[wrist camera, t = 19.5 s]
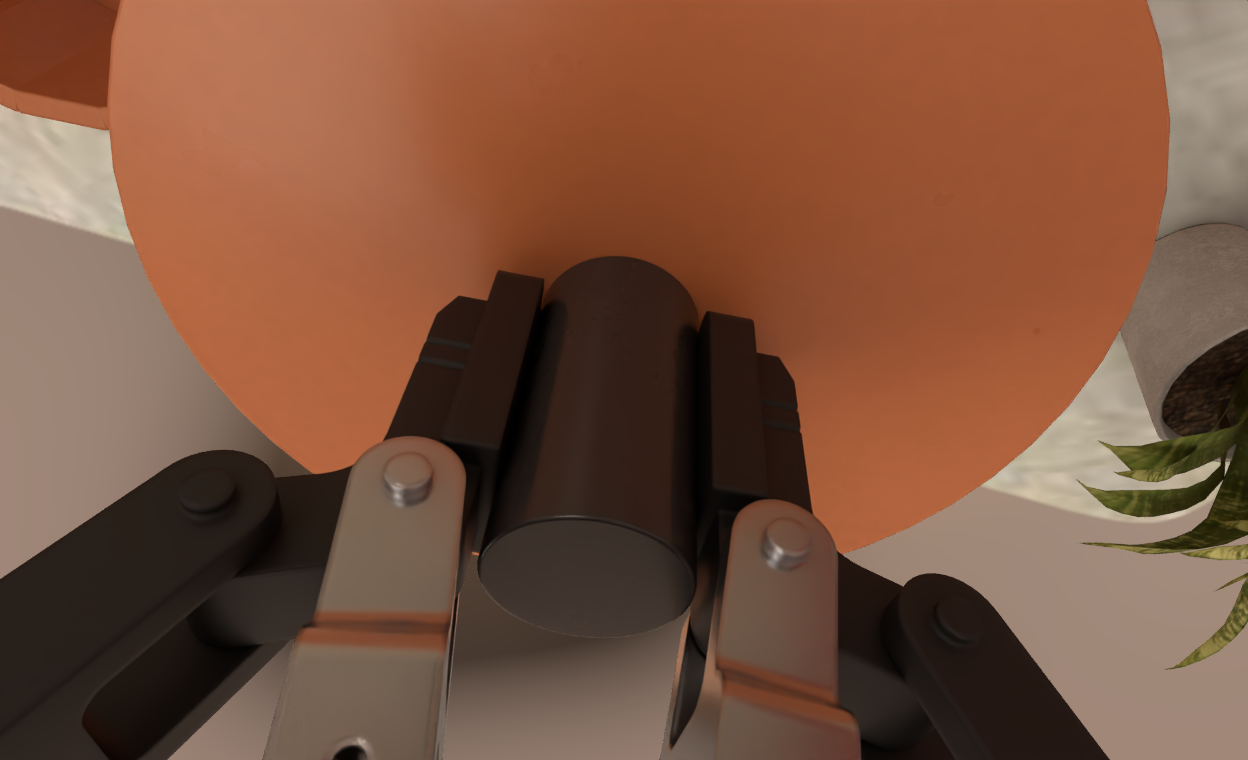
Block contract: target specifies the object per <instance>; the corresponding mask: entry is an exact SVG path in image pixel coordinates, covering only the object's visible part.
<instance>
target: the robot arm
mask: <svg viewBox="0 0 1248 760" xmlns="http://www.w3.org/2000/svg"><path fill="white" fill-rule="evenodd" d="M543 290H544V279H543V278H538V277H533V276H528V275H523V274H517V273H512V272H507V271H502V270H498V272H497V274H496V276H495V279H494V282H493V285H492V288H491V291H490V294H489V297H488V300H487V301H486V300H480V299H475V298H470V297H465V296H457V297H456V298H455V299H454V300H453V301H451V302H450V303H449V304H448V305H447V306H445V307H444V308H443V309H442V310H441V311H439V312H438V313H437V314H436V316H435V319H434V321H433V324H432V326H431V328H430V331H429V333H428V336H427V340H426V342H425V343H424V345H423V348H422V350H421V353H420V355H419V359H418V362H416V365H415V367H414V369H413V372H412V374H411V377H410V379H409V381H408V384H407V386H406V389H405V391H404V393H403V396H402V398H401V401H400V403H399V405H398V408H397V410H396V413H395V415H394V418H393V420H392V422H391V425H390V427H389V430H388V432H387V434H386V436H385V438H384V440H383V441H382V442H380V443H378V444H376V445H374V446H372V447H371V448H369V449H368V450H367V451H365V452H364V453H363V454H362V455H361V456H360V457H359V458H358V459H357V460H356V462H355V464H354V465H351V466H349V467H346V468H344V469H340V470H337V471H333V472H327V473H321V474H312V475H300V476H290V477H279V478H275V477H274V475H273V473H272V471H271V470H270V468H269V467H268V466H267V465H266V464H265V463H264V462H263V461H261V460H260V459H258V458H256V457H254V456H253V455H250V454H247V453H244V452H239V451H234V450H213V451H206V452H201V453H198V454H194V455H191V456H188V457H185V458H183V459H181V460H179V461H177V462H175V463H173V464H171V465H170V466H168V467H166V468H165V469H163V470H162V471H160V472H159V473H157V474H156V475H155V476H153V477H152V478H150V479H149V480H147V481H146V482H144V483H143V484H141V485H140V486H138V487H137V488H135V489H134V490H132V491H131V492H129V493H128V494H126V495H125V496H123V497H122V498H121V499H119V500H117V501H116V502H114V503H113V504H111V505H110V506H108V507H107V508H105V509H104V510H102V511H101V512H100V513H98V514H96V515H95V516H94V517H92V518H91V519H89V520H88V521H86V522H85V523H83V524H82V525H80V526H79V527H77V528H76V529H74V530H73V531H71V532H70V533H68V534H67V535H65V536H64V537H62V538H61V539H59V540H58V541H56V542H55V543H53V544H52V545H50V546H49V547H47V548H46V549H45V550H43V551H41V552H40V553H38V554H37V555H36V556H34V557H32V558H31V559H30V560H28V561H27V562H25V563H24V564H22V565H21V566H19V567H18V568H16V569H15V570H13V571H12V572H10V573H9V574H7V575H6V576H4V577H3V578H1V579H0V760H167V759H168V758H169V757H170V756H171V755H172V754H174V752H176V751H177V750H178V749H179V748H180V747H181V746H182V745H183V744H184V743H185V742H186V741H187V740H188V739H189V738H190V737H191V736H192V735H193V734H194V733H195V732H196V731H197V730H198V729H199V728H200V727H201V726H202V725H203V724H204V723H206V722H207V720H209V719H210V718H211V717H212V716H213V715H214V714H215V713H216V712H217V711H218V710H219V709H220V708H221V707H222V706H223V705H224V704H225V703H226V702H227V701H228V700H229V699H230V698H231V697H232V696H233V695H234V694H235V693H237V692H238V691H239V690H240V689H241V688H242V687H243V686H244V685H245V684H246V683H247V682H248V681H249V680H250V679H251V678H252V677H253V676H254V675H255V674H256V673H257V672H258V671H259V670H260V669H261V668H262V667H263V666H264V665H266V664H267V662H269V661H270V660H271V659H272V658H273V657H274V656H275V655H276V654H277V653H278V652H279V651H280V650H281V649H282V648H283V647H284V646H285V645H286V644H287V643H288V642H289V641H290V640H291V639H295V641H294V644H293V648H292V650H291V654H290V657H289V661H288V664H287V668H286V672H285V676H284V680H283V683H282V687H281V691H280V695H279V699H278V702H277V706H276V710H275V714H274V717H273V722H272V725H271V729H270V733H269V736H268V740H267V744H266V748H265V751H264V755H263V759H262V760H443V754H444V742H445V729H446V719H447V710H448V700H449V690H450V680H451V670H452V660H453V651H454V640H455V631H456V622H457V612H458V602H459V593H460V591H461V589H462V586H463V584H464V581H465V577H466V573H467V569H468V565H469V562H470V558H471V554H472V552H476V553H479V552H480V548H481V544H482V540H483V536H484V532H485V528H486V524H487V520H488V516H489V513H490V509H491V505H492V501H493V498H494V495H495V491H496V487H497V483H498V479H499V475H500V471H501V467H502V463H503V459H504V455H505V451H506V447H507V443H508V440H509V436H510V432H511V428H512V424H513V420H514V416H515V412H516V408H517V404H518V400H519V396H520V392H521V388H522V384H523V380H524V376H525V372H526V368H527V364H528V360H529V356H530V352H531V348H532V344H533V340H534V336H535V332H536V328H537V324H538V320H539V316H540V312H541V305H542V298H543ZM797 408H798V403H797V396H796V388H795V381H794V380H793V378H792V377H791V375H790V374H789V372H788V370H787V369H786V367H785V366H784V364H783V363H782V361H781V359H780V358H779V357H778V356H773V355H767V354H762V353H757V350H756V338H755V326H754V321H753V320H752V319H748V318H743V317H738V316H733V315H727V314H722V313H717V312H712V311H707V312H706V313H705V315H704V317H703V320H702V323H701V326H700V329H699V332H698V360H697V589H696V593H695V596H694V599H693V601H692V602H691V604H690V607H691V608H690V614H689V616H688V618H687V620H686V622H685V624H684V626H683V630H682V634H681V640H680V646H679V651H678V657H677V663H676V669H675V675H674V681H673V687H672V692H671V698H670V705H669V710H668V716H667V722H666V728H665V733H664V739H663V745H662V750H661V755H660V760H1110V759H1109V758H1108V757H1107V756H1106V754H1105V753H1104V752H1103V750H1102V749H1101V748H1100V746H1099V745H1098V744H1097V742H1096V741H1095V740H1094V738H1093V737H1092V736H1091V735H1090V733H1089V732H1088V731H1087V729H1086V728H1085V727H1084V725H1083V724H1082V723H1081V721H1080V720H1079V719H1078V717H1077V716H1076V715H1075V713H1074V712H1073V711H1072V710H1071V709H1070V707H1069V706H1068V704H1067V703H1066V702H1065V700H1064V699H1063V698H1062V696H1061V695H1060V694H1059V692H1058V691H1057V690H1056V688H1055V687H1054V686H1053V685H1052V683H1051V682H1050V681H1049V680H1048V678H1047V677H1046V675H1045V674H1044V673H1043V672H1042V670H1041V669H1040V668H1039V666H1038V665H1037V663H1036V662H1035V661H1034V660H1033V658H1032V657H1031V656H1030V654H1029V653H1028V652H1027V650H1026V649H1025V648H1024V646H1023V645H1022V644H1021V643H1020V641H1019V640H1018V638H1017V637H1016V636H1015V635H1014V633H1013V632H1012V631H1011V629H1010V628H1009V627H1008V625H1007V624H1006V623H1005V621H1004V620H1003V619H1002V617H1001V616H1000V615H999V613H998V612H997V611H996V610H995V608H994V607H993V606H992V605H991V604H990V603H989V601H987V600H986V599H985V598H984V597H983V596H982V595H981V594H980V593H979V592H977V591H976V590H975V589H973V588H972V587H970V586H969V585H967V584H965V583H964V582H962V581H960V580H957V579H955V578H953V577H949V576H946V575H941V574H936V573H934V574H933V573H931V574H922V575H918V576H916V577H914V578H912V579H911V580H909V581H908V582H907V583H906V584H905V585H904V587H903V586H901V585H899V584H897V583H895V582H893V581H890V580H888V579H886V578H884V577H882V576H880V575H878V574H876V573H873V572H871V571H869V570H867V569H865V568H863V567H861V566H859V565H857V564H855V563H853V562H852V561H850V560H849V559H847V558H846V557H844V556H843V555H842V554H841V553H839V552H838V551H837V548H836V545H835V542H834V540H833V538H832V536H831V534H830V533H829V531H828V530H827V528H826V527H825V526H824V525H823V524H822V522H821V521H820V520H819V519H817V518H816V517H815V516H814V515H813V511H812V505H811V498H810V491H809V484H808V476H807V469H806V462H805V454H804V447H803V440H802V433H800V429H801V425H800V418H799V412H797Z"/></svg>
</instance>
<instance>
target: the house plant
mask: <svg viewBox="0 0 1248 760" xmlns="http://www.w3.org/2000/svg"><path fill="white" fill-rule="evenodd" d="M1120 331H1121V334H1122V337H1123V340H1124V343H1125V346H1126V348H1127V351H1128V354H1129V357H1130V360H1131V363H1132V365H1133V368H1134V371H1135V374H1136V377H1137V380H1138V382H1139V385H1140V388H1141V391H1142V394H1143V397H1144V399H1145V402H1146V405H1147V408H1148V411H1149V414H1150V416H1151V419H1152V422H1153V424H1154V427H1155V429H1156V432H1157V434H1158V436H1159V438H1160V439H1161V440H1163V441H1160V442H1156V443H1151V444H1147V445H1143V446H1112V445H1109V444H1107V443H1104V442H1101V441H1099V442H1100V443H1102V444H1103V445H1104V446H1106V447H1107V448H1109V449H1110V450H1111V451H1112V452H1113V453H1114V454H1115V455H1116V456H1117V457H1118V458H1119V459H1120V460H1121V461H1122V462H1123V463H1124V464H1125V465H1126V466H1127V467H1128V468H1129V469H1130V470H1131V471H1125V472H1119V473H1117V472H1115V473H1117V474H1119V475H1121V476H1125V477H1129V478H1133V479H1136V480H1139V481H1146V482H1160V481H1164V480H1167V479H1169V478H1171V477H1172V476H1174V475H1176V474H1181V473H1185V472H1187V471H1190V470H1193V469H1195V468H1198V467H1200V466H1202V465H1205V464H1207V463H1209V462H1211V461H1216V462H1221V465H1220V466H1219V467H1218V468H1217V469H1216V470H1215V471H1214V472H1213V473H1212V474H1211V475H1210V476H1209V477H1208V478H1207V479H1206V480H1204V481H1202V482H1200V483H1197V484H1195V485H1193V486H1190V487H1188V488H1180V489H1170V490H1118V491H1104V490H1099V489H1095V488H1091V487H1087V486H1085V485H1084V484H1082V483H1081V482H1079V481H1078V480H1077V479H1076V480H1077V481H1078V482H1079V483H1080V484H1081V485H1082V486H1083V487H1084V488H1086V489H1087V490H1088V491H1089V492H1090V493H1091V494H1092V495H1093V496H1094V497H1095V498H1097V499H1098V500H1099V501H1100V502H1101V503H1102V504H1103V505H1104V506H1105V507H1107V508H1109V509H1112V510H1114V511H1117V512H1119V513H1122V514H1126V515H1131V516H1136V517H1154V516H1160V515H1165V514H1170V513H1174V512H1177V511H1181V510H1185V509H1188V508H1190V507H1192V506H1194V505H1195V504H1197V503H1199V502H1201V501H1203V500H1205V499H1206V498H1207V497H1208V496H1209V494H1210V493H1211V492H1212V491H1213V490H1214V489H1215V488H1216V487H1217V486H1218V485H1219V483H1220V482H1221V481H1222V480H1223V482H1222V484H1221V486H1220V489H1219V491H1218V493H1217V496H1216V498H1215V500H1214V503H1213V505H1212V507H1211V510H1210V512H1209V514H1208V517H1207V518H1206V519H1205V520H1204V521H1203V522H1202V523H1200V524H1199V525H1198V526H1197V527H1195V528H1194V529H1193V530H1192V531H1190V532H1188V533H1185V534H1183V535H1180V536H1178V537H1175V538H1172V539H1167V540H1164V541H1160V542H1155V543H1147V544H1140V545H1125V544H1110V543H1083V544H1088V545H1097V546H1105V547H1111V548H1118V549H1125V550H1129V551H1134V552H1137V553H1142V554H1163V553H1174V552H1181V554H1183V555H1187V556H1192V557H1200V558H1208V559H1217V560H1241V559H1248V544H1247V545H1246V544H1245V545H1236V546H1222V547H1215V548H1210V549H1204V550H1199V551H1194V552H1188V553H1182V551H1189V550H1196V549H1202V548H1208V547H1213V546H1219V545H1224V544H1227V543H1229V542H1232V541H1234V540H1236V539H1239V538H1241V537H1244V536H1246V535H1248V231H1247V230H1245V229H1243V228H1241V227H1239V226H1234V225H1228V224H1222V223H1221V224H1206V225H1198V226H1195V227H1191V228H1187V229H1183V230H1179V231H1177V232H1175V233H1173V234H1170V235H1168V236H1166V237H1164V238H1161V239H1159V240H1158V241H1156V242H1155V245H1154V250H1153V254H1152V257H1151V260H1150V262H1149V265H1148V267H1147V270H1146V272H1145V275H1144V278H1143V280H1142V283H1141V285H1140V288H1139V290H1138V293H1137V296H1136V298H1135V301H1134V303H1133V306H1132V308H1131V311H1130V313H1129V315H1128V316H1127V318H1126V320H1125V322H1124V324H1123V325H1122V327H1121V329H1120ZM1225 462H1230V465H1229V467H1228V470H1227V472H1226V475H1225ZM1224 476H1225V477H1224ZM1245 578H1247V579H1246V581H1245V582H1244V584H1243V586H1242V588H1241V591H1240V593H1239V596H1238V598H1237V601H1236V603H1235V605H1234V607H1233V609H1232V611H1231V613H1230V615H1229V617H1228V618H1227V620H1226V622H1225V624H1224V625H1223V626H1222V627H1221V628H1220V629H1219V630H1218V631H1217V632H1216V633H1215V634H1214V635H1213V636H1212V637H1211V638H1210V639H1209V640H1207V641H1206V642H1205V643H1204V644H1202V645H1201V646H1200V647H1198V648H1197V649H1196V650H1195V651H1194V652H1193V653H1191V654H1190V655H1189V656H1188V657H1187V658H1185V659H1184V660H1183V661H1182V662H1181V663H1179V664H1178V665H1176V666H1175V667H1173V668H1169V669H1175V668H1179V667H1184V666H1187V665H1190V664H1192V663H1195V662H1198V661H1200V660H1203V659H1205V658H1207V657H1209V656H1211V655H1213V654H1215V653H1217V652H1218V651H1220V650H1221V649H1222V648H1223V647H1224V646H1226V645H1227V644H1228V643H1229V642H1230V641H1232V640H1233V639H1234V638H1235V637H1236V636H1237V635H1238V633H1239V632H1240V631H1241V630H1242V629H1243V628H1244V627H1245V625H1246V623H1247V622H1248V573H1246V574H1244V575H1242V576H1240V577H1238V578H1236V579H1234V580H1232V581H1230V582H1229V583H1227V584H1226V585H1224V586H1223V587H1221V588H1219V589H1222V588H1224V587H1226V586H1228V585H1230V584H1233V583H1234V582H1237V581H1240V580H1242V579H1245ZM1219 589H1218V590H1219Z"/></svg>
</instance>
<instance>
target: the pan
mask: <svg viewBox="0 0 1248 760" xmlns="http://www.w3.org/2000/svg"><path fill="white" fill-rule="evenodd" d="M120 1H121V0H0V104H1V105H3V106H5V107H8V108H10V109H12V110H14V111H19V112H20V113H23V114H28V115H33V116H38V117H43V118H48V119H52V120H57V121H62V122H67V123H72V124H77V125H81V126H86V127H91V128H96V129H101V130H110V128H109V118H108V107H107V101H108V86H109V71H110V56H111V41H112V34H113V30H114V26H115V22H116V18H117V14H118V10H119V6H120Z"/></svg>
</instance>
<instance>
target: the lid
mask: <svg viewBox="0 0 1248 760" xmlns="http://www.w3.org/2000/svg"><path fill="white" fill-rule="evenodd" d="M107 107H108V118H109V128H110V139H111V150H112V161H113V169H114V173H115V177H116V181H117V185H118V190H119V194H120V198H121V202H122V206H123V210H124V214H125V218H126V222H127V226H128V229H129V231H130V234H131V236H132V239H133V242H134V244H135V247H136V249H137V252H138V254H139V257H140V259H141V262H142V264H143V267H144V269H145V272H146V274H147V277H148V279H149V281H150V283H151V285H152V287H153V289H154V291H155V292H156V294H157V296H158V298H159V300H160V302H161V304H162V305H163V307H164V309H165V311H166V312H167V315H168V316H169V318H170V320H171V322H172V324H173V326H174V327H175V329H176V330H177V332H178V333H179V335H180V336H181V337H182V339H183V340H184V342H185V343H186V345H187V346H188V347H189V349H190V350H191V352H192V353H193V355H194V356H195V357H196V359H197V360H198V362H199V363H200V365H201V366H202V367H203V369H204V370H205V371H206V373H207V374H208V375H209V376H210V377H211V378H212V380H213V381H215V383H216V384H217V385H218V386H219V388H220V389H221V390H222V391H223V392H224V393H225V394H226V396H227V397H228V398H229V399H230V400H231V401H232V402H233V404H234V405H235V406H236V407H237V408H238V409H239V410H240V411H241V412H242V413H243V414H244V415H245V416H246V417H247V418H248V419H249V420H250V421H251V422H252V423H254V424H255V425H256V426H257V427H258V428H259V429H260V430H261V431H262V432H263V433H264V434H265V435H266V436H267V437H268V438H269V439H270V440H271V441H272V442H274V443H275V444H276V445H277V446H278V447H280V448H281V449H282V450H284V451H285V452H286V453H287V454H289V455H290V456H291V457H293V458H294V459H295V460H296V461H298V462H299V463H300V464H301V465H303V466H304V467H305V468H306V469H308V470H309V471H310V472H312V473H313V474H321V473H327V472H333V471H337V470H340V469H344V468H346V467H349V466H351V465H354V464H355V462H356V460H357V459H358V458H359V457H360V456H361V455H362V454H363V453H364V452H365V451H367V450H368V449H369V448H371V447H372V446H374V445H376V444H378V443H380V442H382V441H383V440H384V438H385V436H386V434H387V432H388V430H389V427H390V425H391V422H392V420H393V418H394V415H395V413H396V410H397V408H398V405H399V403H400V401H401V398H402V396H403V393H404V391H405V389H406V386H407V384H408V381H409V379H410V377H411V374H412V372H413V369H414V367H415V365H416V362H418V359H419V355H420V353H421V350H422V348H423V345H424V343H425V342H426V340H427V336H428V333H429V331H430V328H431V326H432V324H433V321H434V319H435V316H436V314H437V313H438V312H439V311H441V310H442V309H443V308H444V307H445V306H447V305H448V304H449V303H450V302H451V301H453V300H454V299H455V298H456V297H457V296H465V297H470V298H475V299H480V300H486V301H487V300H488V297H489V294H490V291H491V288H492V285H493V282H494V279H495V276H496V274H497V272H498V270H502V271H507V272H512V273H517V274H523V275H528V276H533V277H538V278H543V279H544V290H543V298H542V305H541V312H540V316H539V320H538V324H537V328H536V332H535V336H534V340H533V344H532V348H531V352H530V356H529V360H528V364H527V368H526V372H525V376H524V380H523V384H522V388H521V392H520V396H519V400H518V404H517V408H516V412H515V416H514V420H513V424H512V428H511V432H510V436H509V440H508V443H507V447H506V451H505V455H504V459H503V463H502V467H501V471H500V475H499V479H498V483H497V487H496V491H495V495H494V498H493V501H492V505H491V509H490V513H489V516H488V520H487V524H486V528H485V532H484V536H483V540H482V544H481V548H480V552H479V553H476V552H472V554H475V555H479V556H478V561H477V570H478V574H479V578H480V582H481V584H482V585H483V587H484V589H485V591H486V592H487V594H488V595H489V596H490V597H491V598H492V599H493V600H494V601H495V602H496V603H497V604H498V605H499V606H500V607H502V608H503V609H504V610H506V611H507V612H509V613H510V614H512V615H513V616H515V617H517V618H519V619H521V620H523V621H525V622H527V623H530V624H532V625H534V626H537V627H540V628H543V629H546V630H550V631H553V632H557V633H562V634H567V635H572V636H580V637H592V638H615V637H626V636H633V635H638V634H642V633H646V632H649V631H653V630H656V629H658V628H660V627H663V626H665V625H667V624H668V623H670V622H672V621H674V620H675V619H677V618H678V617H679V616H681V615H682V614H683V613H684V612H685V611H686V609H687V608H688V607H689V606H690V604H691V602H692V601H693V599H694V596H695V593H696V589H697V360H698V332H699V329H700V326H701V323H702V320H703V317H704V315H705V313H706V312H707V311H712V312H717V313H722V314H727V315H733V316H738V317H743V318H748V319H752V320H753V321H754V326H755V338H756V350H757V353H762V354H767V355H773V356H778V357H779V358H780V359H781V361H782V363H783V364H784V366H785V367H786V369H787V370H788V372H789V374H790V375H791V377H792V378H793V380H794V381H795V388H796V396H797V403H798V408H797V412H799V418H800V425H801V429H800V433H802V440H803V447H804V454H805V462H806V469H807V476H808V484H809V491H810V498H811V505H812V511H813V515H814V516H815V517H816V518H817V519H819V520H820V521H821V522H822V524H823V525H824V526H825V527H826V528H827V530H828V531H829V533H830V534H831V536H832V538H833V540H834V542H835V545H836V548H837V551H838V552H839V553H841V554H844V553H847V552H850V551H853V550H856V549H859V548H862V547H865V546H868V545H870V544H872V543H875V542H877V541H879V540H882V539H884V538H886V537H889V536H891V535H893V534H895V533H898V532H900V531H902V530H905V529H907V528H909V527H911V526H913V525H915V524H917V523H919V522H921V521H922V520H924V519H926V518H928V517H930V516H931V515H933V514H935V513H937V512H939V511H941V510H943V509H944V508H946V507H948V506H950V505H952V504H953V503H955V502H956V501H958V500H959V499H961V498H962V497H964V496H965V495H967V494H968V493H970V492H971V491H972V490H974V489H976V488H977V487H979V486H980V485H982V484H983V483H985V482H986V481H988V480H989V479H991V478H992V477H993V476H995V475H996V474H997V473H998V472H999V471H1001V470H1002V469H1003V468H1004V467H1005V466H1007V465H1008V464H1009V463H1010V462H1011V461H1013V460H1014V459H1015V458H1016V457H1017V456H1019V455H1020V454H1021V453H1022V452H1023V451H1025V450H1026V449H1027V448H1028V447H1029V446H1031V445H1032V444H1033V443H1034V442H1035V441H1036V440H1037V439H1038V438H1039V436H1040V435H1041V434H1042V433H1043V432H1044V431H1045V430H1046V429H1047V428H1048V427H1049V426H1050V425H1051V424H1052V423H1053V422H1054V421H1055V420H1056V419H1057V418H1058V417H1059V416H1060V415H1061V414H1062V412H1063V411H1064V410H1065V409H1066V408H1067V407H1068V406H1069V405H1070V404H1071V402H1072V401H1073V400H1074V398H1075V397H1076V396H1077V394H1078V393H1079V392H1080V390H1081V389H1082V388H1083V386H1084V385H1085V384H1086V382H1087V381H1088V380H1089V378H1090V377H1091V376H1092V374H1093V373H1094V372H1095V370H1096V369H1097V368H1098V366H1099V365H1100V364H1101V362H1102V361H1103V359H1104V357H1105V355H1106V354H1107V352H1108V350H1109V348H1110V347H1111V345H1112V343H1113V341H1114V340H1115V338H1116V336H1117V334H1118V332H1119V331H1120V329H1121V327H1122V325H1123V324H1124V322H1125V320H1126V318H1127V316H1128V315H1129V313H1130V311H1131V308H1132V306H1133V303H1134V301H1135V298H1136V296H1137V293H1138V290H1139V288H1140V285H1141V283H1142V280H1143V278H1144V275H1145V272H1146V270H1147V267H1148V265H1149V262H1150V260H1151V257H1152V254H1153V250H1154V245H1155V241H1156V236H1157V232H1158V227H1159V223H1160V218H1161V214H1162V209H1163V205H1164V200H1165V196H1166V189H1167V171H1168V152H1169V133H1170V116H1169V108H1168V99H1167V91H1166V83H1165V75H1164V66H1163V58H1162V50H1161V45H1160V42H1159V39H1158V35H1157V32H1156V29H1155V26H1154V23H1153V19H1152V16H1151V13H1150V10H1149V6H1148V3H1147V0H121V1H120V6H119V10H118V14H117V18H116V22H115V26H114V30H113V34H112V41H111V56H110V71H109V86H108V101H107Z"/></svg>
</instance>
